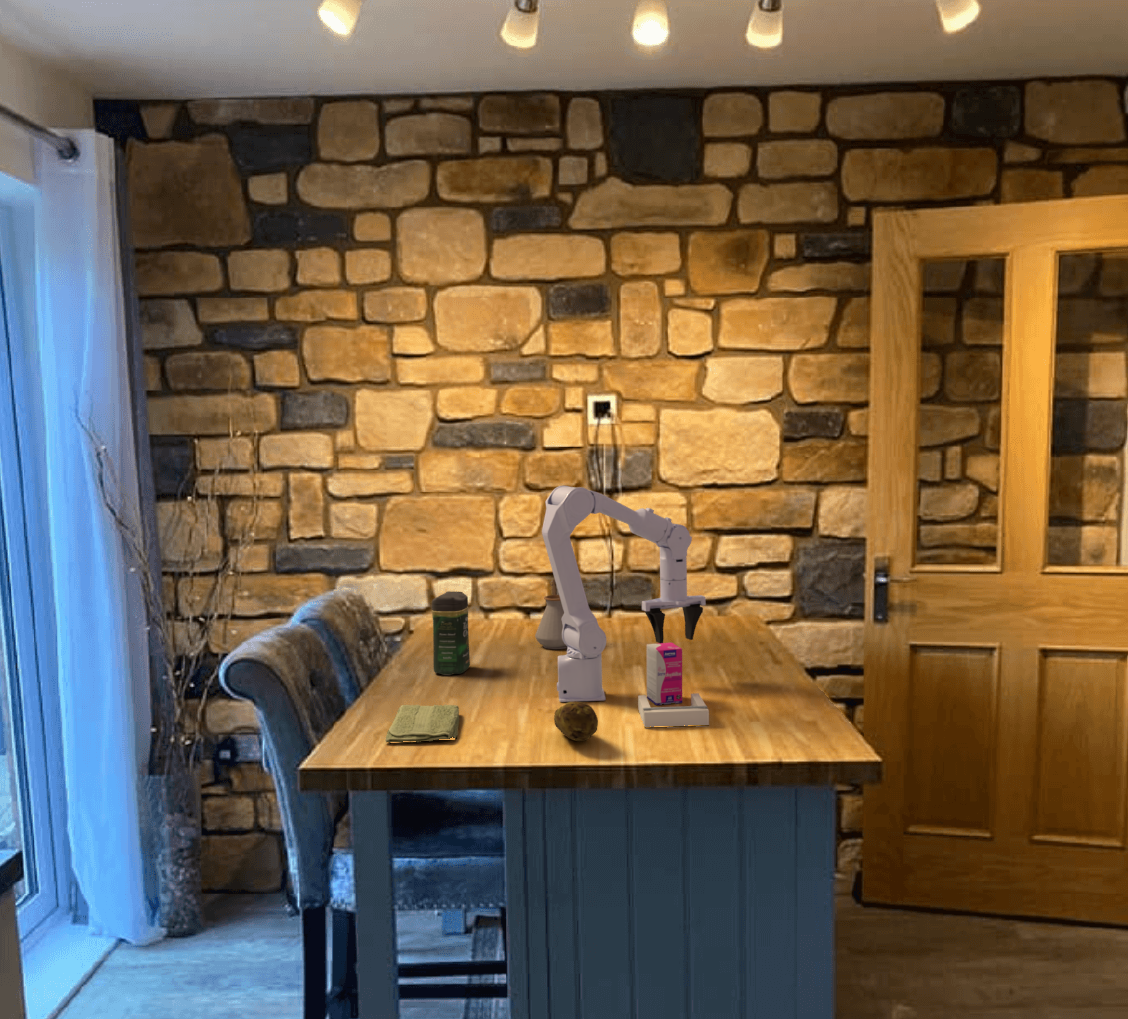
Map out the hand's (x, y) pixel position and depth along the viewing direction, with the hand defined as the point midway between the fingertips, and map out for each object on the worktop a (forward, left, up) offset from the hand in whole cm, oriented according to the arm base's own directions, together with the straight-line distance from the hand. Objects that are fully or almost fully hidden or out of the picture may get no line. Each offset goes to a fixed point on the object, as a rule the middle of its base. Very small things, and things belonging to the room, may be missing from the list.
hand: (674, 640), depth 203 cm
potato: (-23, -36, -10) cm, 44 cm away
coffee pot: (-25, +44, -10) cm, 52 cm away
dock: (-4, -24, -9) cm, 26 cm away
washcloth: (-51, -26, -10) cm, 58 cm away
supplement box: (-4, -13, -10) cm, 17 cm away
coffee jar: (-50, +17, -10) cm, 54 cm away
